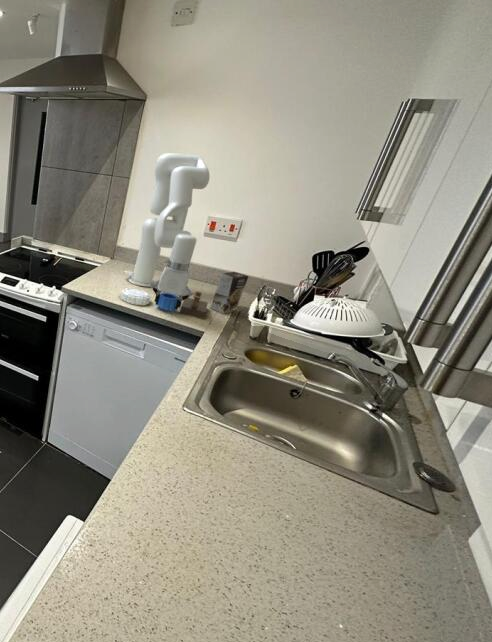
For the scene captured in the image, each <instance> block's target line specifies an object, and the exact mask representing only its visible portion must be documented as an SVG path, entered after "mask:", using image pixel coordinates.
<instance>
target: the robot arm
mask: <svg viewBox="0 0 492 642" xmlns="http://www.w3.org/2000/svg"><path fill="white" fill-rule="evenodd" d="M210 176H211V175H210V171H209V167H208V165H207V164H206V163H205V161H204V159H203V158H202V157H201V156H199V155H194V154H185V153H184V154H183V153H175V152H173V153H171V152H169V153H164V154H163V153H162V154H161V155H159V157H158V158H157V160H156V162H155V165H154V179H155V180H154V181H155V183H154V188H153V193H152V196H151V202H150V209H149V210H150V213H151V214H152V215H154V216H157V218H156V217H152V218H148V219H146V220H145V221H143V223H142V227H141V228H142V229H141V239H140V244H139V248H138V253H137V256H136V260H135V265H134V269H133V271H129V270H124V272H123V274H124V276H127V277H128V282H130V283H131V284H133V285H135V286H139V287H146V288H151V289H152V292H154V294H155V298H154V302H155V305H156V306H157V304H158V300H159V296H160V293H170V294H174V295H176V296H178V297H179V300H178V302H177V305H176V309H175V311H178V309H181V307H182V303H183V301H184V300H185V299H187V298H191V297H192V296H193V295H194V292H193V291H192V290H191V288H190V287H189V286H188V283H189V278H190V271H189V267H190V264H191V261H192V258H193V254H194V250H195V248H196V244H197V240H198V239H197V237H195V236H194V235H192V233H191V232H190V231H188V230H184V227H185V223H186V220H187V216H188V211H189V208H190V207H191V206H192V202H193V191H194V190H204V189H205V188H206V187H207V186H208V184H209V182H210ZM168 217H171V218H172V219H168ZM161 248H165V249H171V252H170V255H169V259H166V260H164V264H166V266H165V267H164V269H163V271H162V273H161V276H160V278H159V279H157V280H156V281H155V280H154V278H155V274H156V270H157V266H158V263H159V259H160V255H161V252H162V249H161ZM156 286H157V287H156ZM186 292H187V293H186ZM185 293H186V294H185Z"/></svg>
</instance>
